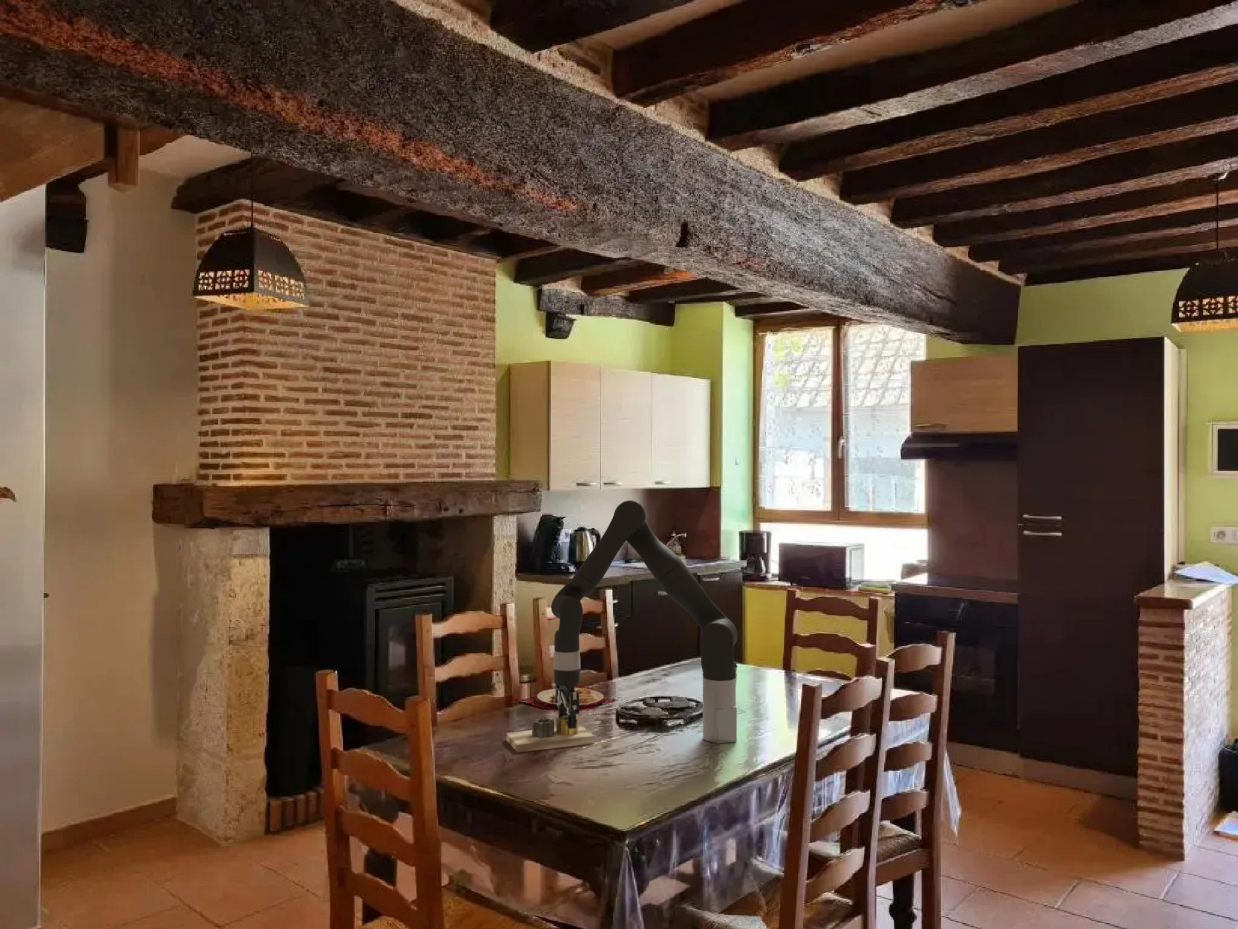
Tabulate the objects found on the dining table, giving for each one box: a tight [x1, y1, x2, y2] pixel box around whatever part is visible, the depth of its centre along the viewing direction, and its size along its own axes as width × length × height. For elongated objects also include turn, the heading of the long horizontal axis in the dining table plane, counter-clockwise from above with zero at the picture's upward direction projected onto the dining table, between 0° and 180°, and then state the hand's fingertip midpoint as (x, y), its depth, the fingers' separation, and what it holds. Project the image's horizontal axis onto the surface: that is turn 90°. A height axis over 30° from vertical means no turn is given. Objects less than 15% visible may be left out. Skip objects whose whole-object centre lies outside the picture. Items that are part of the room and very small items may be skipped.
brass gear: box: [555, 716, 579, 736], centre depth 262 cm, size 6×6×4 cm
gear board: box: [505, 715, 596, 753], centre depth 260 cm, size 12×22×6 cm, turn 111°
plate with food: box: [518, 681, 617, 713], centre depth 304 cm, size 24×26×4 cm
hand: (567, 724), depth 262 cm, fingers open, 8 cm apart
